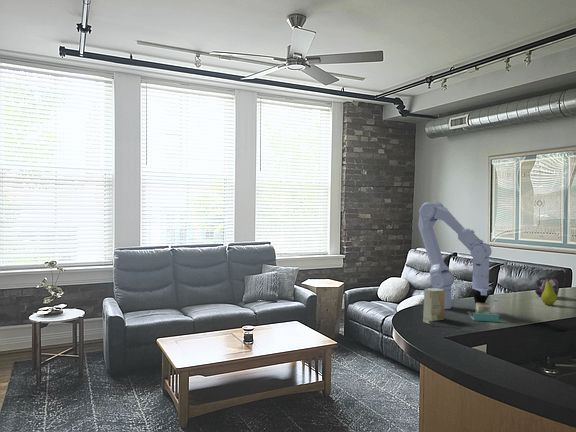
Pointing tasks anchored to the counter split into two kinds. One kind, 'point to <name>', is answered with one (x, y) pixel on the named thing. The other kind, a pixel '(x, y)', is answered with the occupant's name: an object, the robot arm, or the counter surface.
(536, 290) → the mineral specimen
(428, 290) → the skincare box
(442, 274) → the robot arm
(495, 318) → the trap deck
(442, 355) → the counter surface
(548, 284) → the fruit
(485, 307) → the maple block
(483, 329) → the counter surface
